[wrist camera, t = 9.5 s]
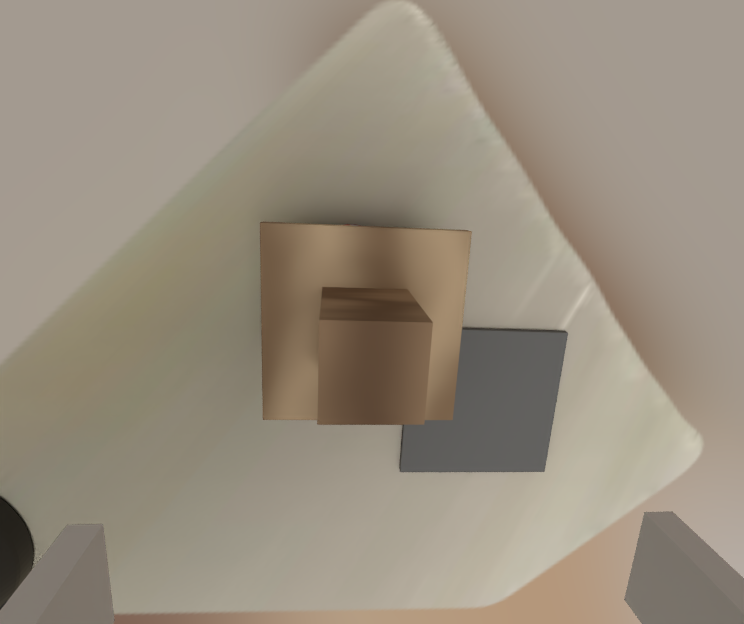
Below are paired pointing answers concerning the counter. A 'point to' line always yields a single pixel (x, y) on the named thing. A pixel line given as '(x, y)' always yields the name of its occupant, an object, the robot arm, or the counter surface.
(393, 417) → the lid
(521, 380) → the mat
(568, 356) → the counter surface
